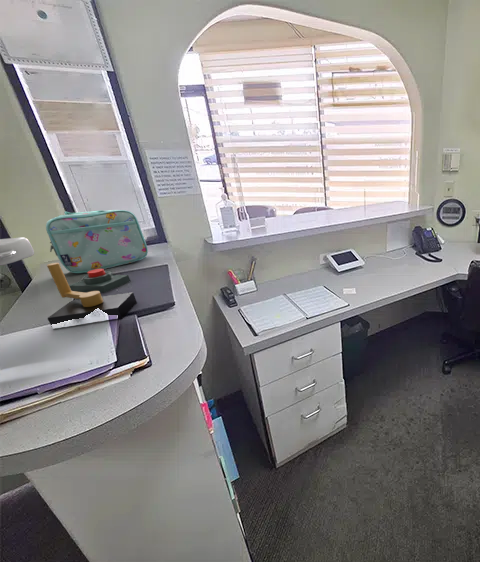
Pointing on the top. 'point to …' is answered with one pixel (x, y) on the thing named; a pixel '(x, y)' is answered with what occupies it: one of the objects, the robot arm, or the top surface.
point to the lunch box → (96, 239)
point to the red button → (96, 273)
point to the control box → (100, 283)
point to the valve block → (110, 305)
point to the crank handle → (65, 291)
